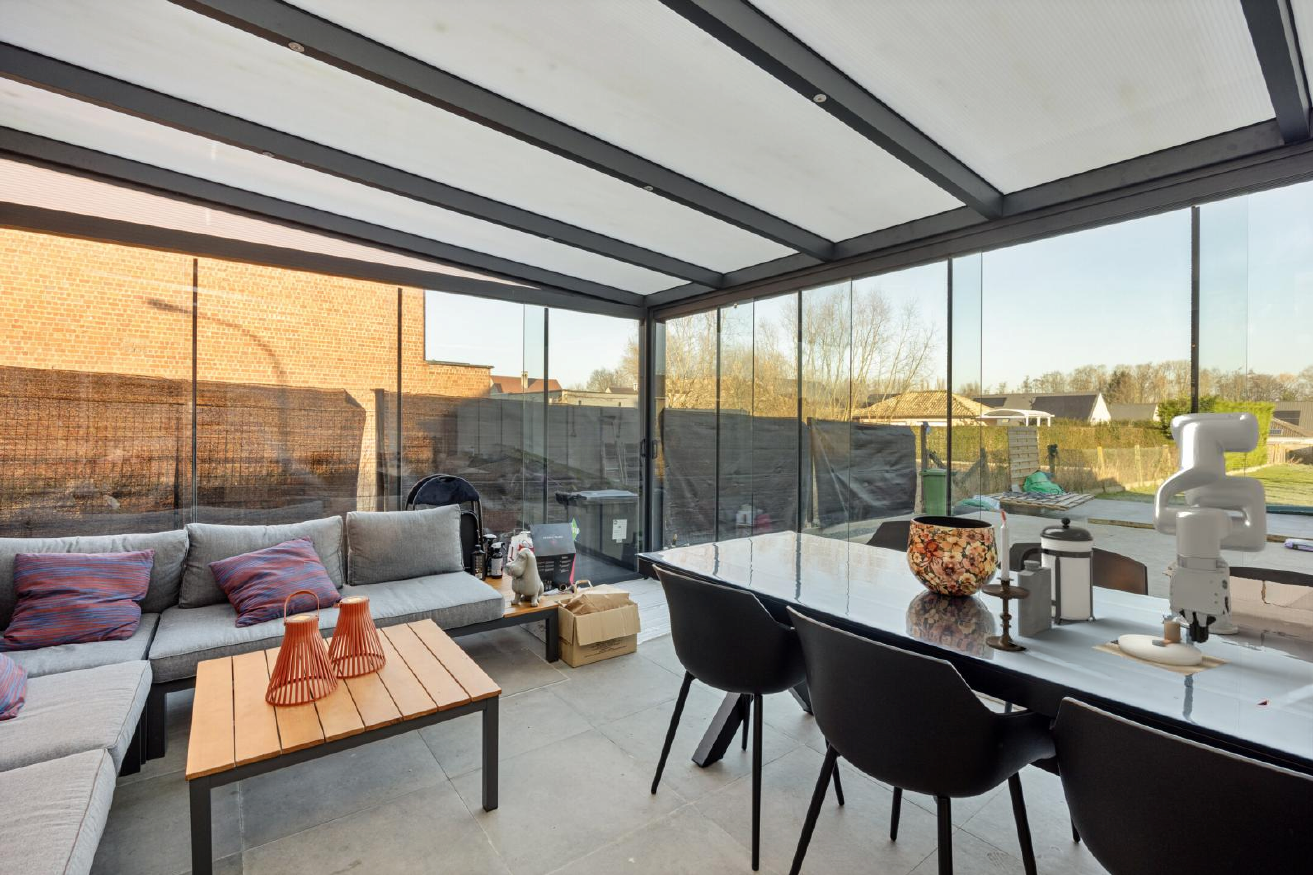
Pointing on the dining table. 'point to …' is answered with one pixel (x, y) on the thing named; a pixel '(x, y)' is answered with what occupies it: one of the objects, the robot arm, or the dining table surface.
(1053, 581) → the coffee press
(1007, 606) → the candlestick
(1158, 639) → the cream oval with knob
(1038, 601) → the hip flask
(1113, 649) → the dial base
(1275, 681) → the dining table surface
